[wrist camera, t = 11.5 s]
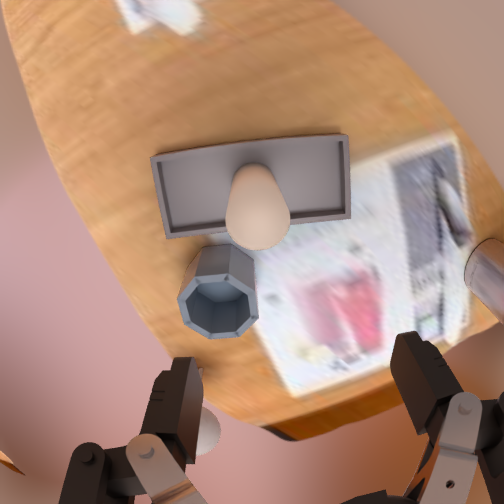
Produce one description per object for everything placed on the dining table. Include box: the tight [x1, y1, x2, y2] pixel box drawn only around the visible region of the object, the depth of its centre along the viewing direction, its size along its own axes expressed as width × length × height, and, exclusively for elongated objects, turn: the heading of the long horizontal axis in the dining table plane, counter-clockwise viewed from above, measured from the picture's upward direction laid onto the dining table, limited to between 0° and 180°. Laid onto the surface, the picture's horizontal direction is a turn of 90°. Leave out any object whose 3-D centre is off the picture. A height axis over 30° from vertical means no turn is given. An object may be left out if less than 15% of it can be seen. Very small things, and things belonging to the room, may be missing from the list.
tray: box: [150, 134, 351, 239], centre depth 32 cm, size 20×9×2 cm, turn 96°
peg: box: [225, 162, 290, 250], centre depth 26 cm, size 4×4×12 cm
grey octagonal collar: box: [177, 244, 259, 339], centre depth 34 cm, size 8×8×7 cm
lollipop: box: [196, 368, 221, 455], centre depth 38 cm, size 7×7×15 cm
